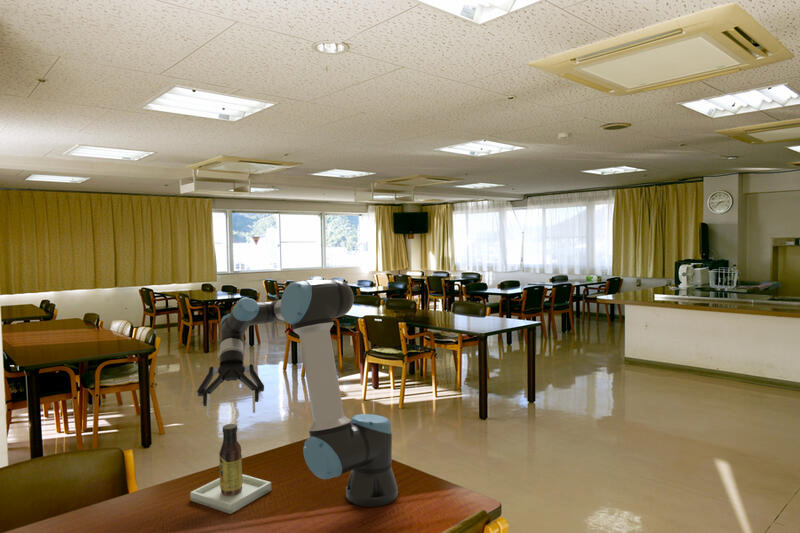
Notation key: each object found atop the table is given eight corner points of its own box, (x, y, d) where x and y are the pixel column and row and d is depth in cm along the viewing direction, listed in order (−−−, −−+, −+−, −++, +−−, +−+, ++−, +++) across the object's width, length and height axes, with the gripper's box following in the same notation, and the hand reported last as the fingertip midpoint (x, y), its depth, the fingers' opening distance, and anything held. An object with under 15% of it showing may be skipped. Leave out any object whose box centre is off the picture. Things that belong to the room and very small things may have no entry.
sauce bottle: (223, 487, 158) (221, 422, 158) (244, 486, 159) (242, 421, 158) (217, 498, 152) (216, 429, 151) (240, 496, 153) (238, 428, 152)
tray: (271, 490, 159) (271, 482, 159) (230, 514, 145) (230, 505, 145) (232, 479, 166) (232, 471, 166) (190, 500, 152) (190, 492, 152)
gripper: (269, 359, 184) (272, 414, 170) (192, 363, 177) (189, 422, 163) (270, 346, 179) (272, 403, 165) (191, 351, 172) (186, 410, 158)
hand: (231, 412), depth 164 cm, fingers open, 13 cm apart
